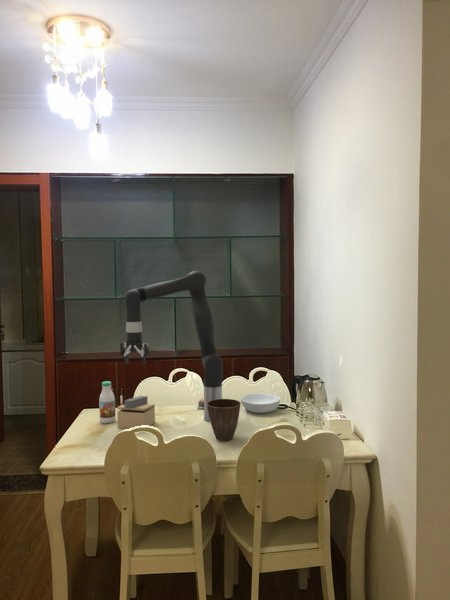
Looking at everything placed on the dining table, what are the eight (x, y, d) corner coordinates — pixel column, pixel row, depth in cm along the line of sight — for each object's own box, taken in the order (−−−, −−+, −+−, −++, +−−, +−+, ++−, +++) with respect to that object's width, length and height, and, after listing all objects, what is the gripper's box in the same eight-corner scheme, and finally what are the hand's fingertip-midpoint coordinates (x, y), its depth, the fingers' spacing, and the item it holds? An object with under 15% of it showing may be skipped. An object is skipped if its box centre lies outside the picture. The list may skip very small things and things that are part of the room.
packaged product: (196, 401, 261) (201, 396, 271) (196, 410, 261) (201, 405, 271) (229, 402, 257) (233, 398, 267) (229, 411, 257) (233, 406, 267)
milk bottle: (96, 421, 243) (95, 382, 242) (110, 417, 249) (108, 379, 247) (105, 424, 238) (104, 384, 237) (118, 420, 244) (117, 381, 242)
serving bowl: (233, 412, 255) (233, 399, 254) (254, 403, 272) (254, 391, 271) (267, 419, 243) (267, 405, 242) (287, 409, 260) (287, 396, 259)
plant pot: (207, 433, 223) (206, 399, 222) (239, 432, 224) (238, 398, 223) (208, 445, 208) (207, 408, 207) (242, 443, 209) (242, 407, 208)
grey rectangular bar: (131, 408, 229) (131, 401, 229) (124, 407, 230) (124, 400, 230) (147, 403, 242) (147, 396, 242) (140, 402, 243) (140, 395, 243)
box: (155, 422, 240) (154, 406, 240) (144, 430, 229) (144, 413, 228) (129, 420, 244) (129, 404, 244) (117, 427, 233) (117, 411, 232)
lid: (154, 406, 240) (154, 404, 240) (144, 410, 228) (144, 408, 228) (129, 404, 244) (129, 402, 244) (117, 408, 232) (117, 406, 232)
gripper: (117, 331, 232) (118, 365, 233) (144, 332, 228) (145, 366, 229) (124, 329, 239) (125, 362, 240) (150, 330, 235) (151, 363, 236)
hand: (135, 364), depth 235 cm, fingers open, 8 cm apart
